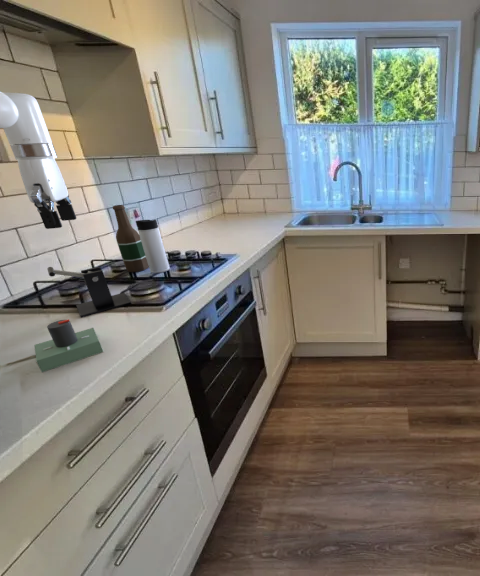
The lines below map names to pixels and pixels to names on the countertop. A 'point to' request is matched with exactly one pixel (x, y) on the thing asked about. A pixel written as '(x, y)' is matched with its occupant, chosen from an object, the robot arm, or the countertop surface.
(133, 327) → the countertop surface
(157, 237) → the travel mug
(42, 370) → the dial block
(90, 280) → the bracket
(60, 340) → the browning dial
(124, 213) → the beer bottle
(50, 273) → the toaster lever
